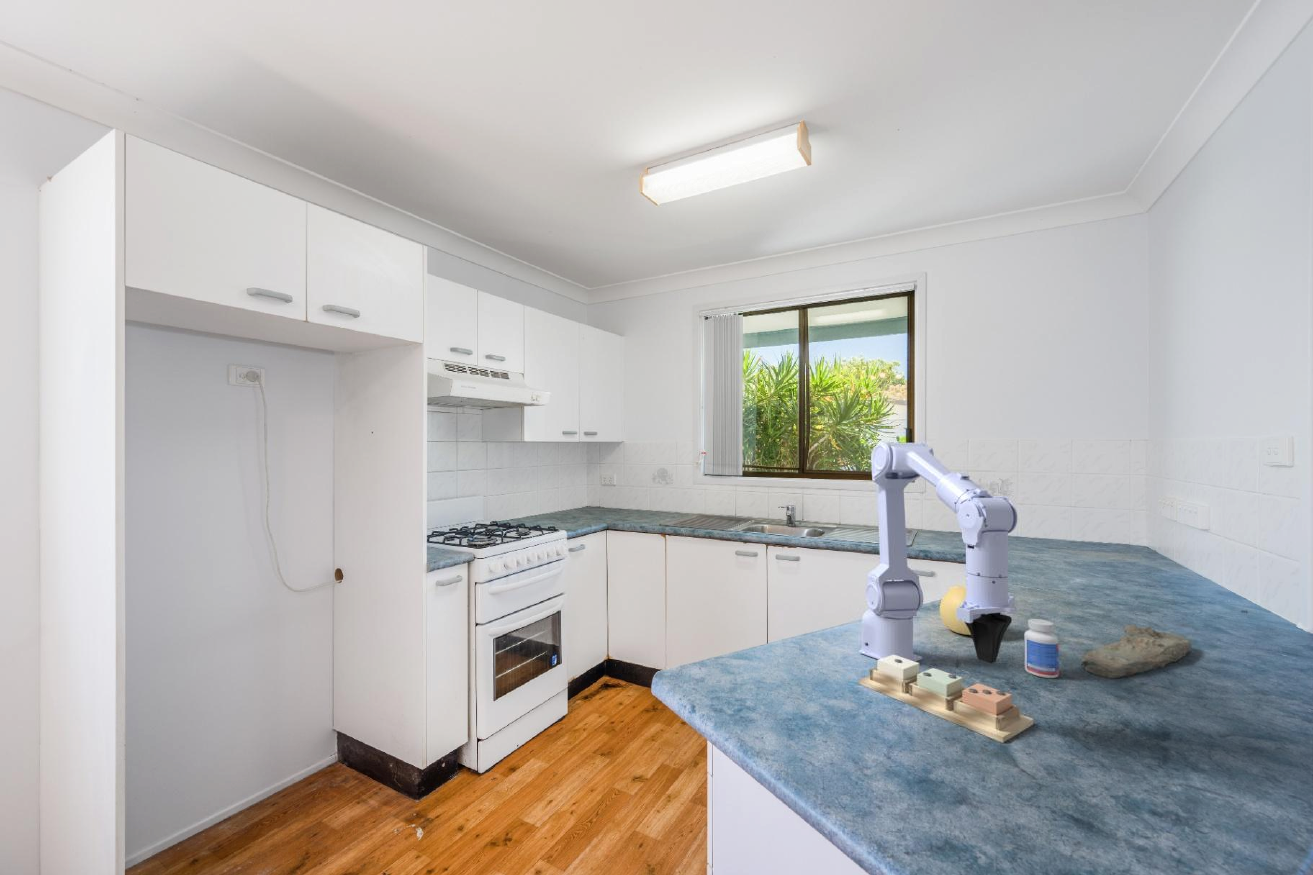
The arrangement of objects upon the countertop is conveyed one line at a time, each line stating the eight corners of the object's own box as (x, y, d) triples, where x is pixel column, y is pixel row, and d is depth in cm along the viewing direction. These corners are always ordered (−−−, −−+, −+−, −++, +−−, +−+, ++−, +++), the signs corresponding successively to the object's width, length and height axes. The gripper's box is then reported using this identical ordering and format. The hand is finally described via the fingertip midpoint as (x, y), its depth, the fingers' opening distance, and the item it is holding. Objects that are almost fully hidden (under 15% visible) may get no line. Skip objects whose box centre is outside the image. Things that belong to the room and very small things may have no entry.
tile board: (859, 683, 100) (859, 669, 100) (891, 671, 105) (891, 657, 105) (1002, 742, 80) (1002, 724, 80) (1033, 724, 86) (1033, 707, 86)
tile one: (877, 673, 99) (877, 658, 100) (893, 667, 102) (893, 653, 102) (903, 683, 95) (903, 668, 95) (919, 676, 98) (919, 662, 98)
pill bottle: (1064, 680, 102) (1064, 627, 103) (1032, 677, 103) (1032, 625, 104) (1050, 668, 108) (1049, 618, 108) (1019, 666, 109) (1019, 616, 109)
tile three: (962, 705, 87) (962, 689, 87) (978, 697, 90) (978, 681, 90) (996, 718, 83) (996, 701, 83) (1011, 710, 86) (1011, 693, 86)
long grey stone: (1064, 673, 110) (1125, 696, 101) (1065, 647, 109) (1126, 667, 101) (1146, 637, 126) (1204, 654, 117) (1146, 614, 126) (1205, 629, 117)
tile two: (917, 688, 93) (917, 672, 93) (933, 681, 96) (933, 666, 96) (946, 699, 89) (946, 683, 89) (962, 692, 92) (962, 676, 92)
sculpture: (1007, 635, 128) (1007, 588, 128) (978, 643, 121) (978, 594, 122) (958, 621, 137) (958, 578, 138) (929, 629, 131) (929, 583, 132)
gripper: (991, 584, 80) (991, 680, 79) (1035, 573, 88) (1035, 659, 87) (942, 575, 85) (942, 663, 85) (988, 565, 94) (988, 646, 93)
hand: (986, 660), depth 87 cm, fingers closed
